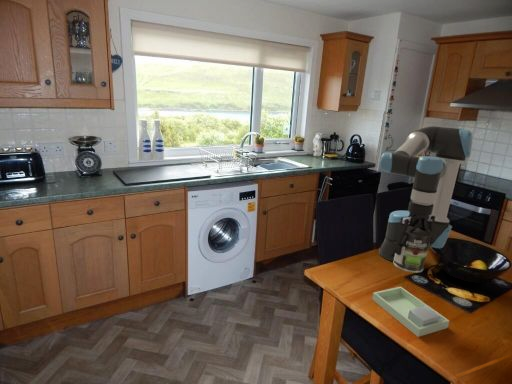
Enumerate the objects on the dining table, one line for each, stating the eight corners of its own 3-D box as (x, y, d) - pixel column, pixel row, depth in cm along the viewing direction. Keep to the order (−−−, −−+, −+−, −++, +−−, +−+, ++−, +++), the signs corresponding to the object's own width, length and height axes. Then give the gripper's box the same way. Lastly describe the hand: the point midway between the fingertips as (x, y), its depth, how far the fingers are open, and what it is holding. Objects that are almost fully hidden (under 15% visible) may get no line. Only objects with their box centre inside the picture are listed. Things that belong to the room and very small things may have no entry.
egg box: (423, 316, 123) (426, 305, 121) (437, 326, 117) (440, 315, 116) (407, 320, 120) (409, 310, 118) (420, 331, 114) (423, 320, 113)
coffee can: (427, 275, 117) (435, 237, 113) (395, 270, 119) (403, 233, 115) (419, 261, 127) (427, 226, 123) (390, 257, 129) (397, 222, 125)
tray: (399, 294, 137) (400, 286, 136) (447, 329, 117) (449, 320, 116) (371, 300, 131) (373, 292, 130) (417, 338, 112) (419, 329, 111)
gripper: (436, 196, 123) (423, 251, 130) (388, 200, 115) (377, 259, 121) (454, 203, 117) (440, 260, 123) (405, 207, 108) (393, 269, 114)
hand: (409, 260), depth 122 cm, fingers closed on coffee can, 10 cm apart
